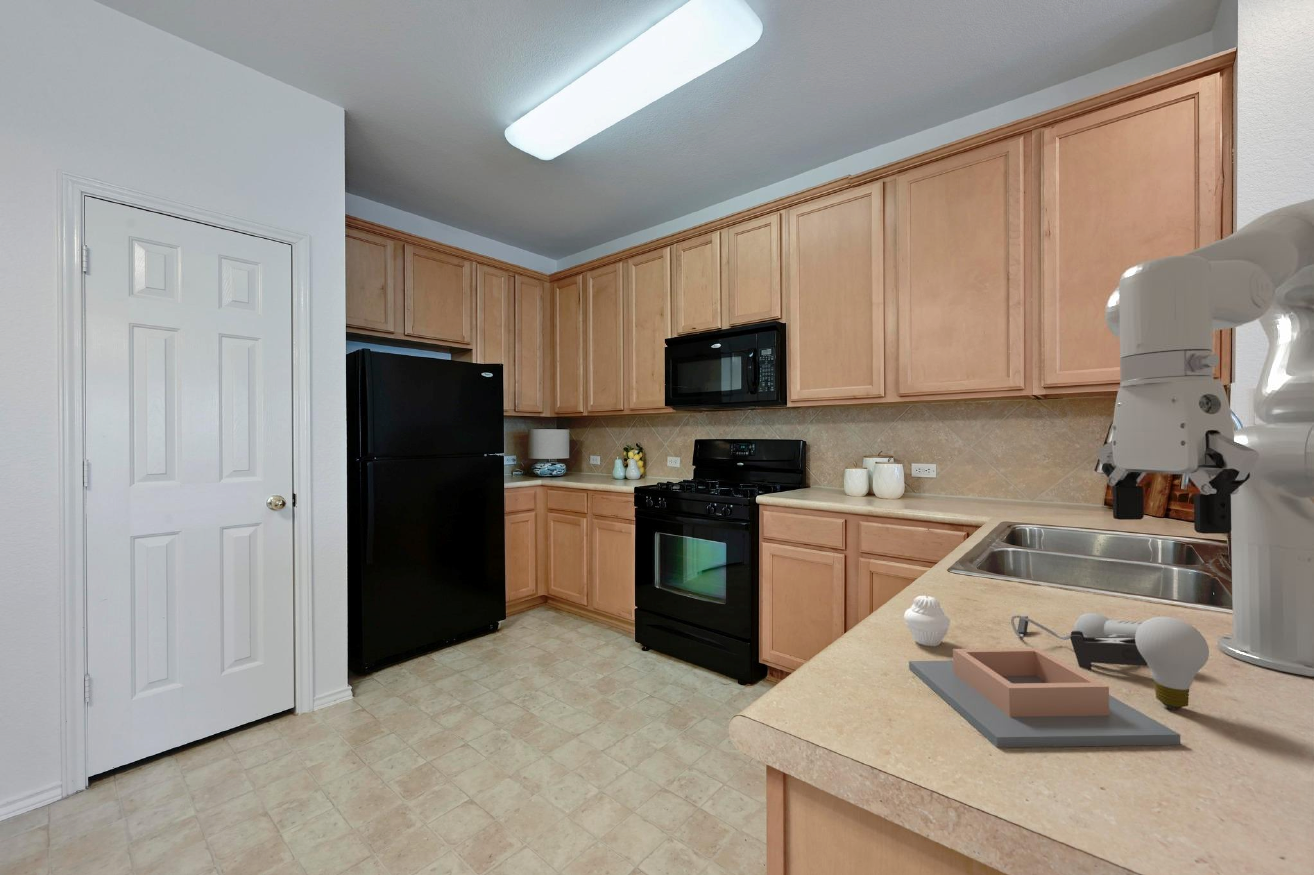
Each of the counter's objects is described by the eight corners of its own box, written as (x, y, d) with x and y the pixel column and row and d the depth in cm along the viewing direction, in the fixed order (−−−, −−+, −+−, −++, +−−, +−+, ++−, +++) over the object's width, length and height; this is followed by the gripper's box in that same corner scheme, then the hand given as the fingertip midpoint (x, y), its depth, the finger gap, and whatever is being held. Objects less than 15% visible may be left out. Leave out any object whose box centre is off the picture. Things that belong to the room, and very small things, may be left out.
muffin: (960, 646, 77) (959, 598, 77) (930, 653, 75) (929, 603, 75) (924, 632, 83) (923, 587, 83) (895, 638, 81) (894, 592, 81)
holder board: (1045, 666, 70) (1044, 636, 70) (1180, 744, 52) (1179, 703, 52) (909, 668, 70) (908, 638, 70) (997, 747, 52) (996, 706, 52)
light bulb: (1219, 727, 55) (1217, 630, 55) (1143, 712, 58) (1141, 621, 58) (1199, 703, 60) (1198, 614, 60) (1131, 690, 63) (1129, 606, 63)
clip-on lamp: (997, 661, 79) (1149, 680, 64) (985, 618, 80) (1131, 626, 65) (1038, 638, 85) (1186, 651, 69) (1025, 598, 86) (1169, 602, 70)
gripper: (1290, 360, 51) (1294, 539, 51) (1129, 381, 68) (1131, 514, 68) (1212, 360, 51) (1215, 540, 51) (1070, 381, 68) (1072, 515, 68)
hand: (1167, 525), depth 59 cm, fingers open, 9 cm apart
